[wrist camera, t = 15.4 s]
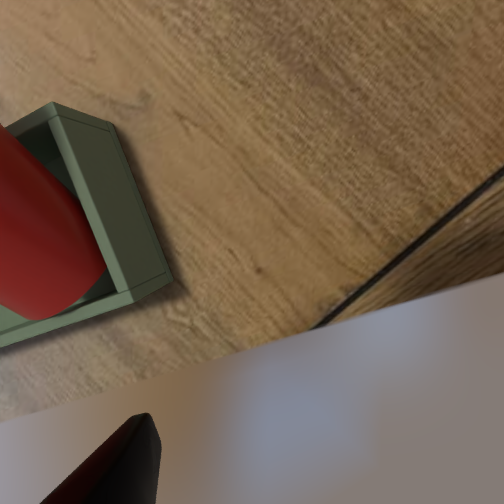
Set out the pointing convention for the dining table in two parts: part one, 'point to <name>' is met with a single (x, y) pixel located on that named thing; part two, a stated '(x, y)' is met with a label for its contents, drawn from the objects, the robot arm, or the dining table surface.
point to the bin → (92, 214)
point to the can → (41, 237)
